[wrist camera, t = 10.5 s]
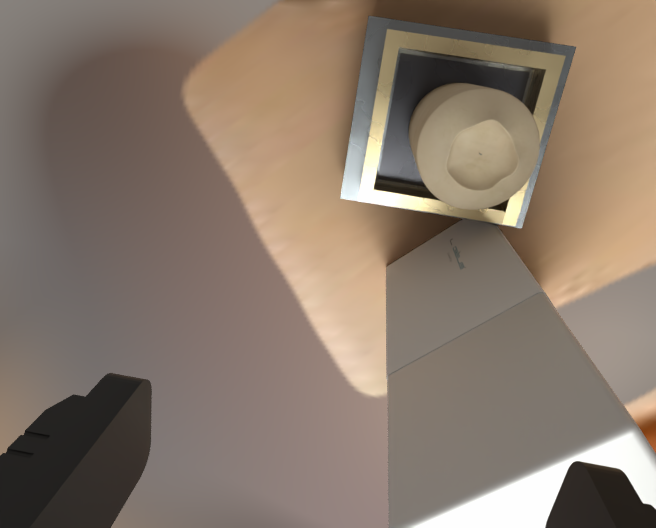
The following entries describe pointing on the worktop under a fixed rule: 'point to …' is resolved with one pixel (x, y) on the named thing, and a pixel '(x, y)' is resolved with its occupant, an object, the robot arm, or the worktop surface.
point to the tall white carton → (491, 391)
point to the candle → (473, 144)
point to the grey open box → (421, 78)
